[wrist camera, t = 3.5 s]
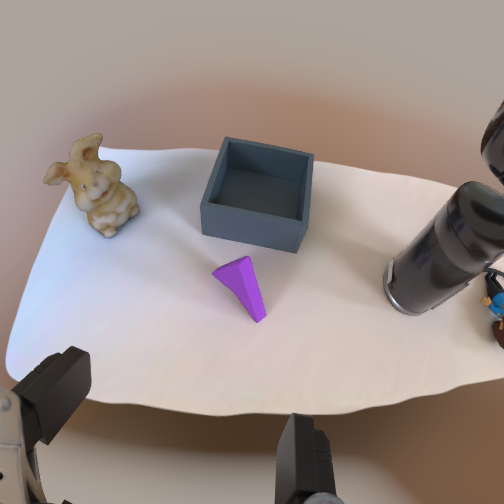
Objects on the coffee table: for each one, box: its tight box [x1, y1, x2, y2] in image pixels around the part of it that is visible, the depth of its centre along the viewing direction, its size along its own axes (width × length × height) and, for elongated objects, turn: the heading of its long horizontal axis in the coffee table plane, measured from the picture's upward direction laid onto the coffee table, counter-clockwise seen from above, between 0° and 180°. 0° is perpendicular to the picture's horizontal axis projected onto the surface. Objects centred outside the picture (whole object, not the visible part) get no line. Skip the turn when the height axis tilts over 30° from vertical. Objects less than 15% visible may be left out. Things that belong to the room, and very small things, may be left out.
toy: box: [481, 271, 504, 349], centre depth 41 cm, size 11×6×15 cm
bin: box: [200, 137, 314, 253], centre depth 45 cm, size 14×14×7 cm
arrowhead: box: [212, 256, 266, 323], centre depth 39 cm, size 10×2×10 cm
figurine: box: [43, 133, 139, 238], centre depth 38 cm, size 10×8×15 cm
